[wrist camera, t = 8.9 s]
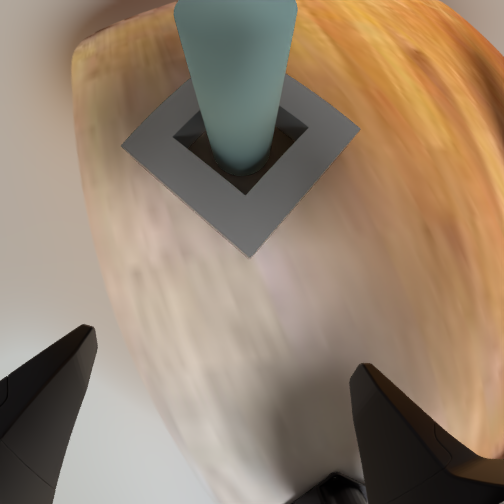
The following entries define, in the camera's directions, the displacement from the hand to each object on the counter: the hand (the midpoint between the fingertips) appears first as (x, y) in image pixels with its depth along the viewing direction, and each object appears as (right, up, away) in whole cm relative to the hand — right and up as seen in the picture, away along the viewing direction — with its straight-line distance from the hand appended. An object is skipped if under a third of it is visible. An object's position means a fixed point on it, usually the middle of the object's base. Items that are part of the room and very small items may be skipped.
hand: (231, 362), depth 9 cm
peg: (0, +11, +11) cm, 15 cm away
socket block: (0, +11, +11) cm, 15 cm away
